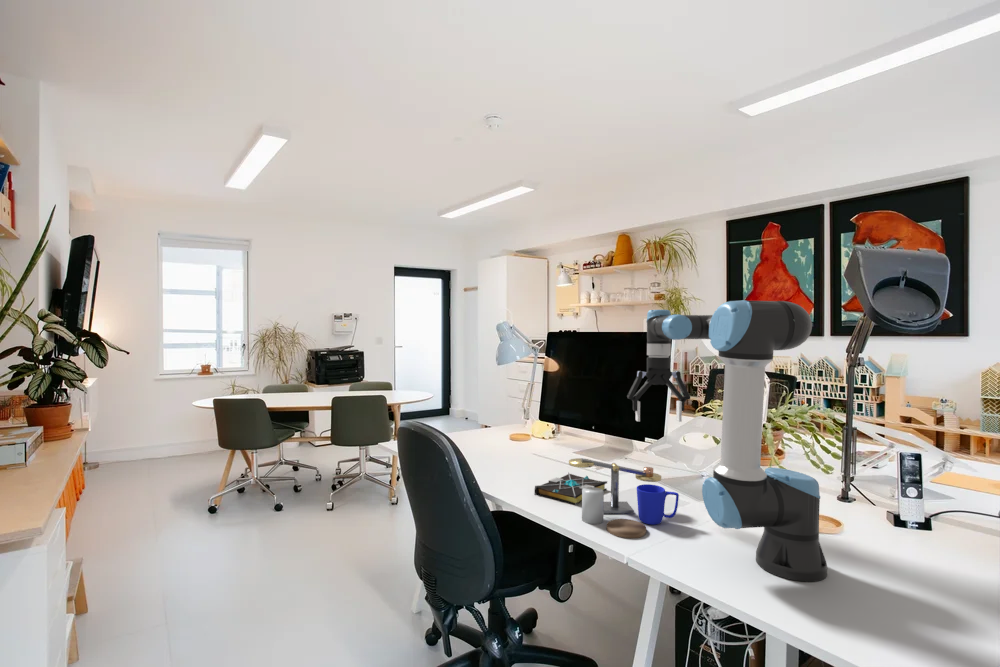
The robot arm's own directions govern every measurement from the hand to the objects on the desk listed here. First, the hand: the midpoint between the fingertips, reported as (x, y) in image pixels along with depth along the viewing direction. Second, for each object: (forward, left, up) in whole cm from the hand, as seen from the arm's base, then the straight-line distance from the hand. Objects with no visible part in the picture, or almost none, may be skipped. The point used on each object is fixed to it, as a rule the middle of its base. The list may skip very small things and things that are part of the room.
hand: (658, 421), depth 169 cm
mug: (-16, +6, -28) cm, 32 cm away
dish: (-22, +17, -27) cm, 39 cm away
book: (+12, +27, -28) cm, 40 cm away
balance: (-5, +16, -27) cm, 32 cm away
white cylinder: (-14, +25, -27) cm, 39 cm away
